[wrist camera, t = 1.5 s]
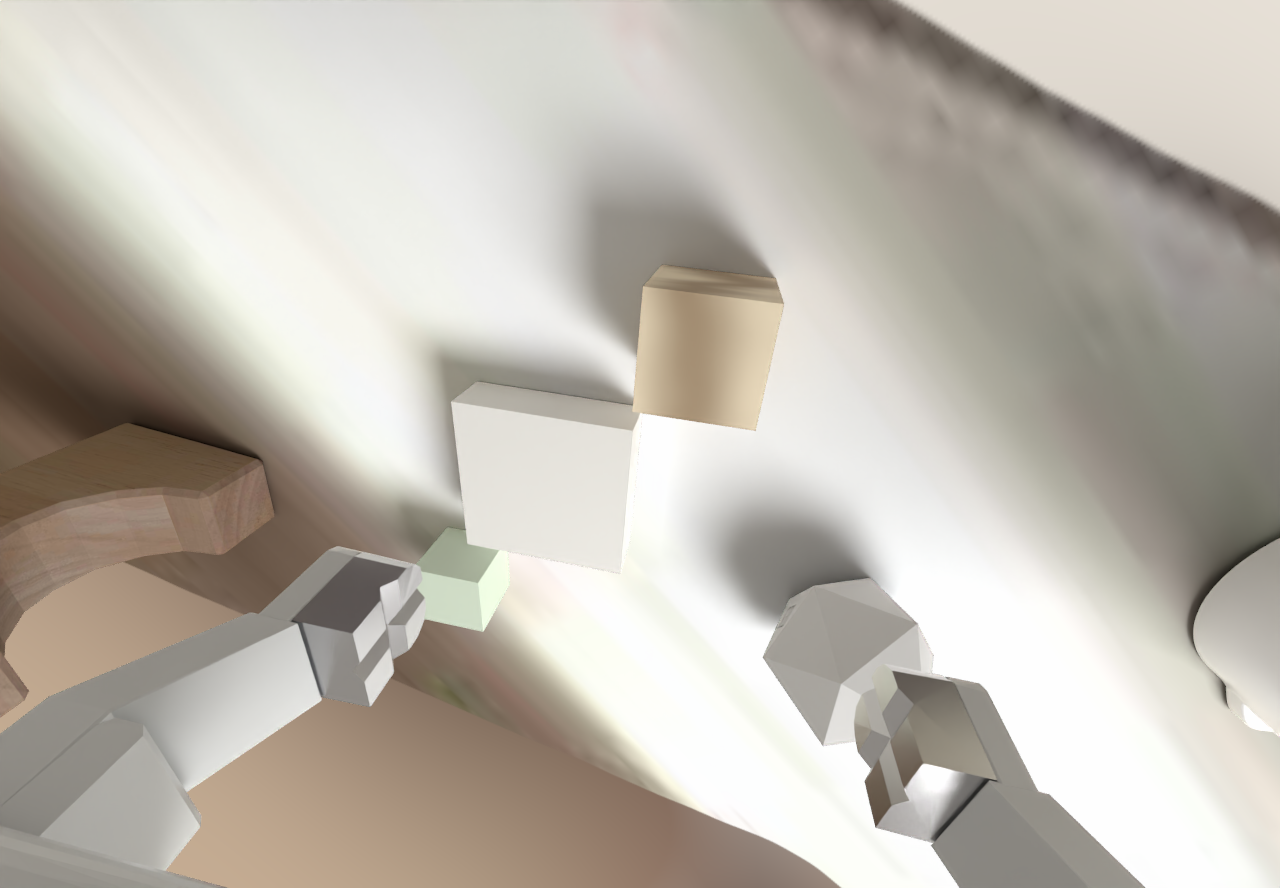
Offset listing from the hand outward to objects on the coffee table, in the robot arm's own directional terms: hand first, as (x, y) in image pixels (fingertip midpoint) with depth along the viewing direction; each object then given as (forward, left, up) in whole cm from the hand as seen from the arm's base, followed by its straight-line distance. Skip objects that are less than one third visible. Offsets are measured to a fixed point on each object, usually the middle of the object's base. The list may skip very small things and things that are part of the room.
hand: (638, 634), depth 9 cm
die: (-11, +17, -19) cm, 28 cm away
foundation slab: (+8, +10, -19) cm, 23 cm away
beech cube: (0, 0, -19) cm, 19 cm away
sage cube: (+14, +19, -19) cm, 30 cm away
